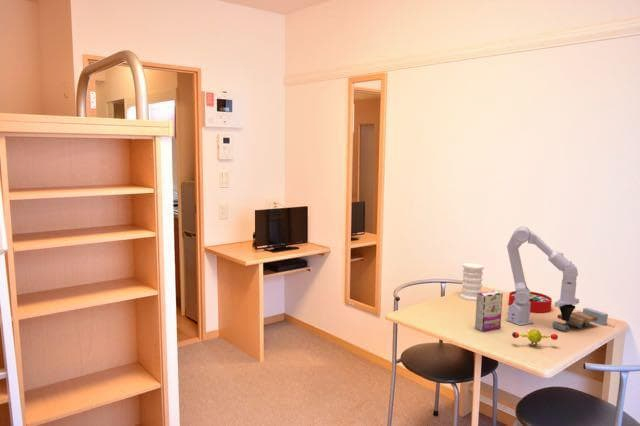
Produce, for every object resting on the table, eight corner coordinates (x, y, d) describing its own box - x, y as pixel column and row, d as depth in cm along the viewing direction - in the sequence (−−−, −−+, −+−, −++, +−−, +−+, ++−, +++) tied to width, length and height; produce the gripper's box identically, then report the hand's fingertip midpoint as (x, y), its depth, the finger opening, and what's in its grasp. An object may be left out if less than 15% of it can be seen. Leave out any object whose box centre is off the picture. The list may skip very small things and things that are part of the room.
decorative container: (459, 293, 263) (461, 262, 261) (481, 295, 260) (483, 263, 258) (460, 299, 252) (462, 266, 250) (482, 302, 249) (485, 268, 247)
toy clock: (523, 288, 257) (559, 298, 241) (522, 299, 257) (558, 309, 241) (501, 294, 245) (537, 304, 229) (500, 305, 246) (536, 316, 230)
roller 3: (585, 327, 216) (586, 321, 216) (572, 323, 221) (573, 316, 221) (589, 326, 217) (590, 320, 217) (576, 322, 223) (577, 316, 222)
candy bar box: (491, 324, 215) (494, 289, 213) (500, 328, 211) (503, 292, 209) (473, 328, 210) (476, 292, 208) (482, 332, 206) (485, 295, 204)
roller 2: (583, 322, 214) (581, 329, 214) (570, 318, 219) (568, 324, 219) (579, 321, 213) (577, 328, 213) (566, 317, 218) (565, 323, 218)
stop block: (602, 325, 219) (604, 315, 218) (582, 318, 228) (583, 308, 227) (606, 324, 220) (607, 314, 220) (585, 317, 229) (586, 307, 228)
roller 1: (565, 326, 208) (569, 325, 209) (552, 321, 213) (556, 320, 215) (564, 332, 208) (568, 331, 210) (552, 328, 214) (556, 327, 215)
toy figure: (553, 344, 195) (554, 328, 194) (559, 349, 189) (560, 333, 188) (508, 342, 195) (510, 326, 194) (513, 347, 190) (515, 331, 189)
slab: (576, 324, 209) (576, 321, 209) (557, 318, 217) (557, 314, 217) (597, 320, 217) (597, 317, 217) (578, 314, 225) (579, 311, 225)
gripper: (566, 295, 204) (563, 325, 206) (586, 291, 211) (583, 321, 213) (551, 291, 210) (548, 320, 212) (571, 287, 217) (569, 316, 219)
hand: (565, 320), depth 213 cm, fingers closed
